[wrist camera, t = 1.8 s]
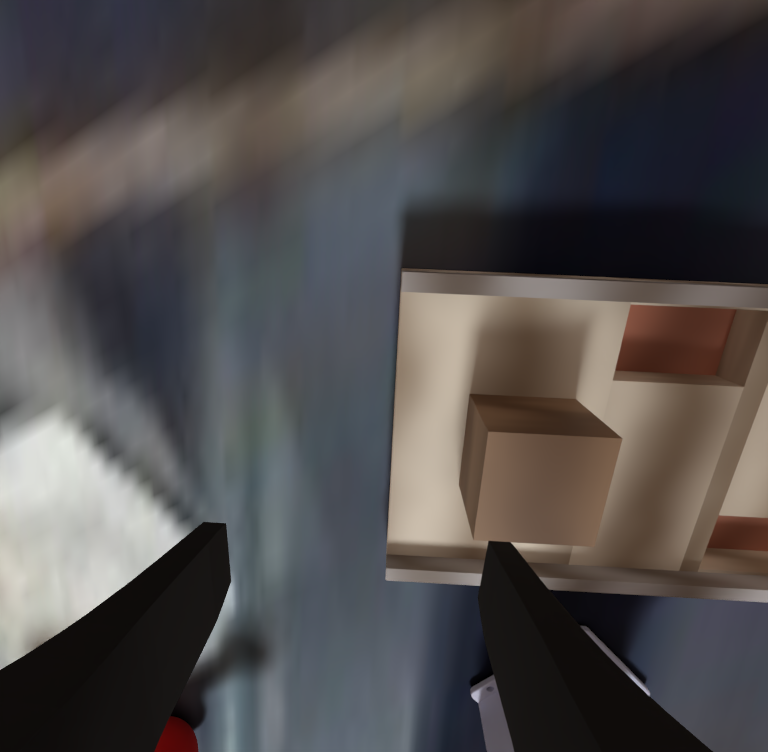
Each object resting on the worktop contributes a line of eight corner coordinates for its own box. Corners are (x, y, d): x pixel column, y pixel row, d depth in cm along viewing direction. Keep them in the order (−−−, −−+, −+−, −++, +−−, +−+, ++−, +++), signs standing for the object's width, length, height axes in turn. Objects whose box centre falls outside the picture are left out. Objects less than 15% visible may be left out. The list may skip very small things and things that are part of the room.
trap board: (386, 540, 24) (385, 580, 21) (401, 268, 19) (402, 271, 16) (906, 569, 23) (978, 614, 20) (1066, 297, 18) (1191, 306, 15)
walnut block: (458, 484, 20) (473, 540, 16) (469, 393, 18) (488, 431, 15) (556, 489, 20) (594, 547, 16) (575, 399, 18) (622, 438, 14)
